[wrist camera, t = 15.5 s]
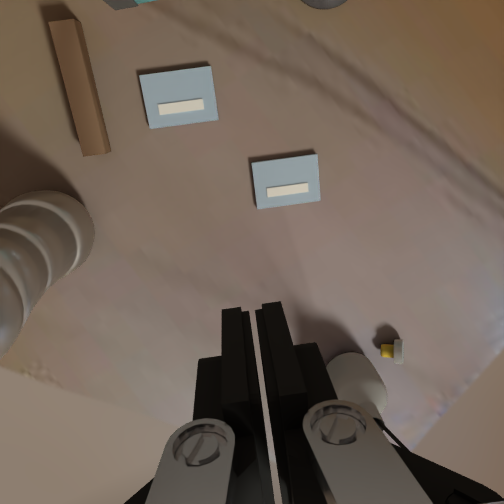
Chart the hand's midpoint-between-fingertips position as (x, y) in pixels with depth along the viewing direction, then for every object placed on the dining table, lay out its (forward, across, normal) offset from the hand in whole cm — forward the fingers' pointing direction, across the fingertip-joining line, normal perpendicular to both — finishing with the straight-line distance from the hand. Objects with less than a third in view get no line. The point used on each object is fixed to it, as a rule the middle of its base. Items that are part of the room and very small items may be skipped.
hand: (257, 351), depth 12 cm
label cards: (+22, -1, -4) cm, 23 cm away
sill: (+22, +10, -8) cm, 26 cm away
